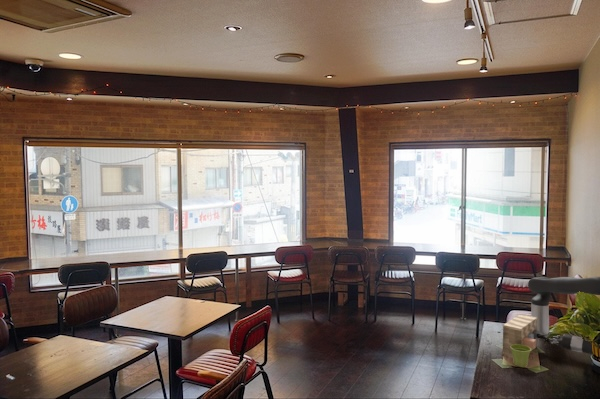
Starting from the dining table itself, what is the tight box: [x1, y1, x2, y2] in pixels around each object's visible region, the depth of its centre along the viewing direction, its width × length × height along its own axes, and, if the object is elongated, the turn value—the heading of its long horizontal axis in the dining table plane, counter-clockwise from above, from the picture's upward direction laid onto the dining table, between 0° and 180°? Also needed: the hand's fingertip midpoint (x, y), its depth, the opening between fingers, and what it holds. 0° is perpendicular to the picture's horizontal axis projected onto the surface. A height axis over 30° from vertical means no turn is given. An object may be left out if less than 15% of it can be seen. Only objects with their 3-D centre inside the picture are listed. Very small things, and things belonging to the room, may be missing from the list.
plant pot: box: [510, 344, 532, 368], centre depth 234 cm, size 9×9×9 cm
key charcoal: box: [532, 330, 539, 340], centre depth 255 cm, size 4×6×4 cm, turn 47°
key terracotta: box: [523, 337, 537, 350], centre depth 242 cm, size 4×6×4 cm, turn 47°
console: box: [502, 313, 538, 359], centre depth 252 cm, size 25×9×16 cm, turn 137°
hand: (537, 335), depth 253 cm, fingers closed
